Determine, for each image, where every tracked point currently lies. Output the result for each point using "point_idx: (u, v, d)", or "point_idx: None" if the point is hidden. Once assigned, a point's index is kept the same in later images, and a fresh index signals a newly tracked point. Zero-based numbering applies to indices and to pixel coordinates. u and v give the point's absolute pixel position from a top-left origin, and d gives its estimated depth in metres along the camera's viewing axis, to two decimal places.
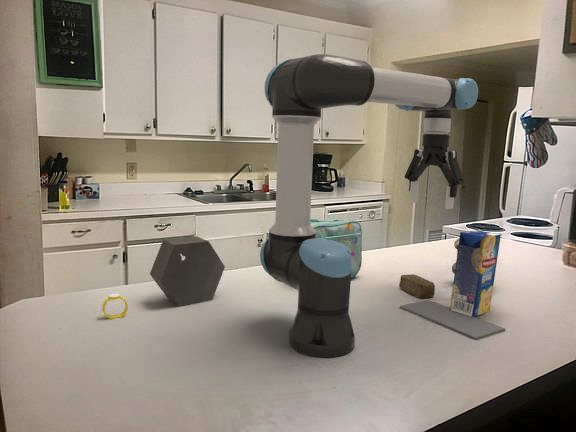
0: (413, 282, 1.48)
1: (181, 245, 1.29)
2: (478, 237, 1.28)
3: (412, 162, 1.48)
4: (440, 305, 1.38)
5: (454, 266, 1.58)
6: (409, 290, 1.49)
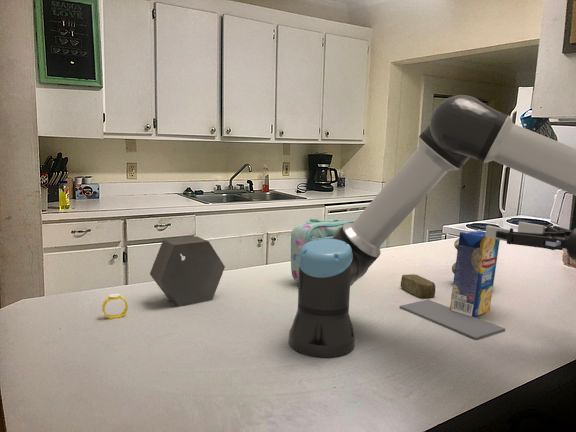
0: (414, 282, 1.48)
1: (181, 245, 1.29)
2: (478, 237, 1.28)
3: (569, 230, 1.14)
4: (440, 305, 1.38)
5: (454, 266, 1.58)
6: (410, 290, 1.50)
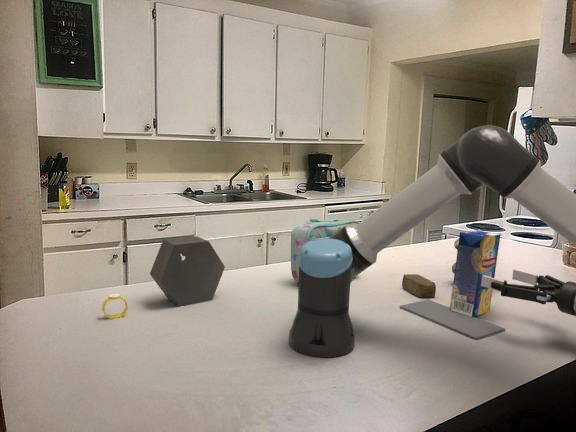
0: (414, 282, 1.48)
1: (181, 245, 1.29)
2: (478, 237, 1.28)
3: (560, 281, 1.22)
4: (440, 305, 1.38)
5: (454, 266, 1.58)
6: (410, 290, 1.50)
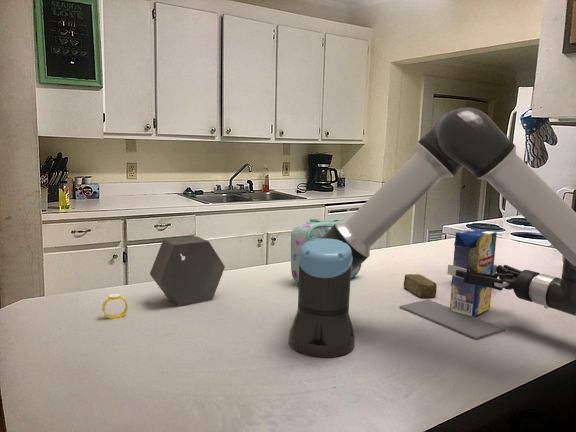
0: (415, 281, 1.48)
1: (181, 245, 1.29)
2: (474, 237, 1.28)
3: (518, 270, 1.30)
4: (440, 305, 1.38)
5: None
6: (411, 289, 1.50)
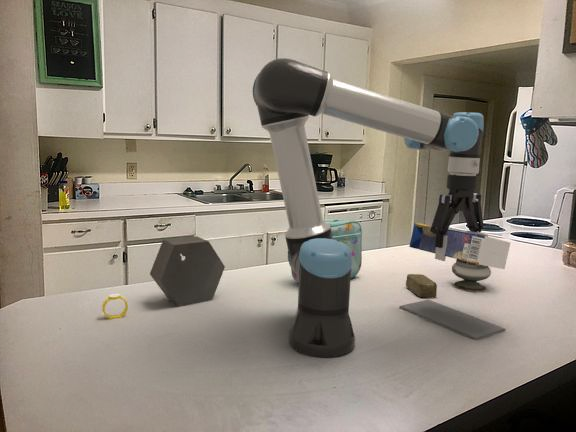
0: (415, 281, 1.49)
1: (181, 245, 1.29)
2: (414, 228, 1.32)
3: None
4: (440, 305, 1.38)
5: (454, 266, 1.58)
6: (412, 289, 1.51)
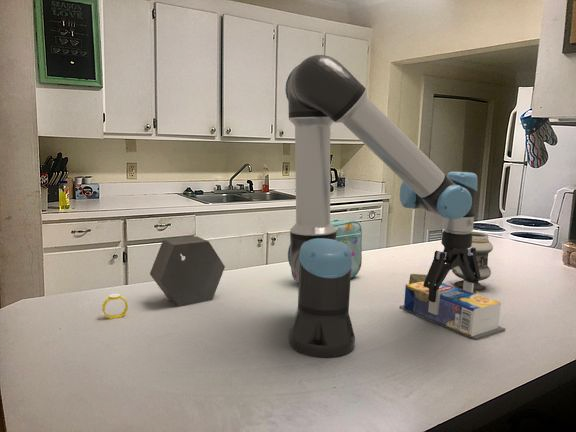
0: (416, 281, 1.49)
1: (181, 245, 1.29)
2: (406, 291, 1.34)
3: None
4: None
5: None
6: None
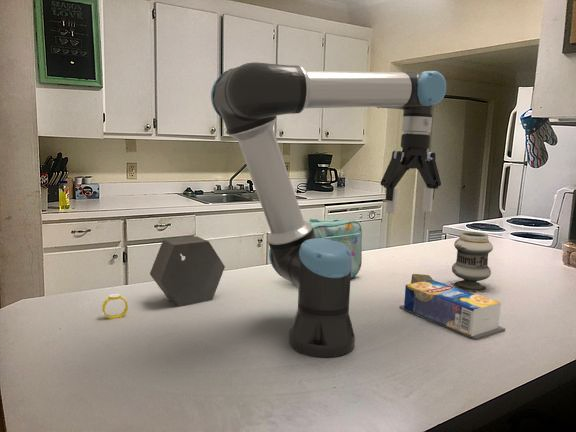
0: (416, 281, 1.49)
1: (181, 245, 1.29)
2: (406, 291, 1.34)
3: None
4: None
5: (454, 266, 1.58)
6: None
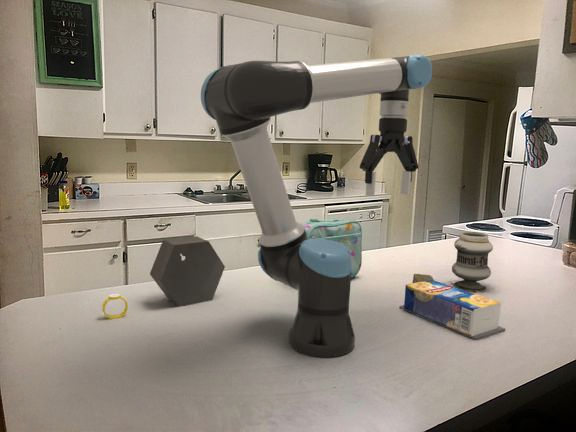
0: (416, 281, 1.49)
1: (181, 245, 1.29)
2: (406, 291, 1.34)
3: None
4: None
5: (454, 266, 1.58)
6: None
